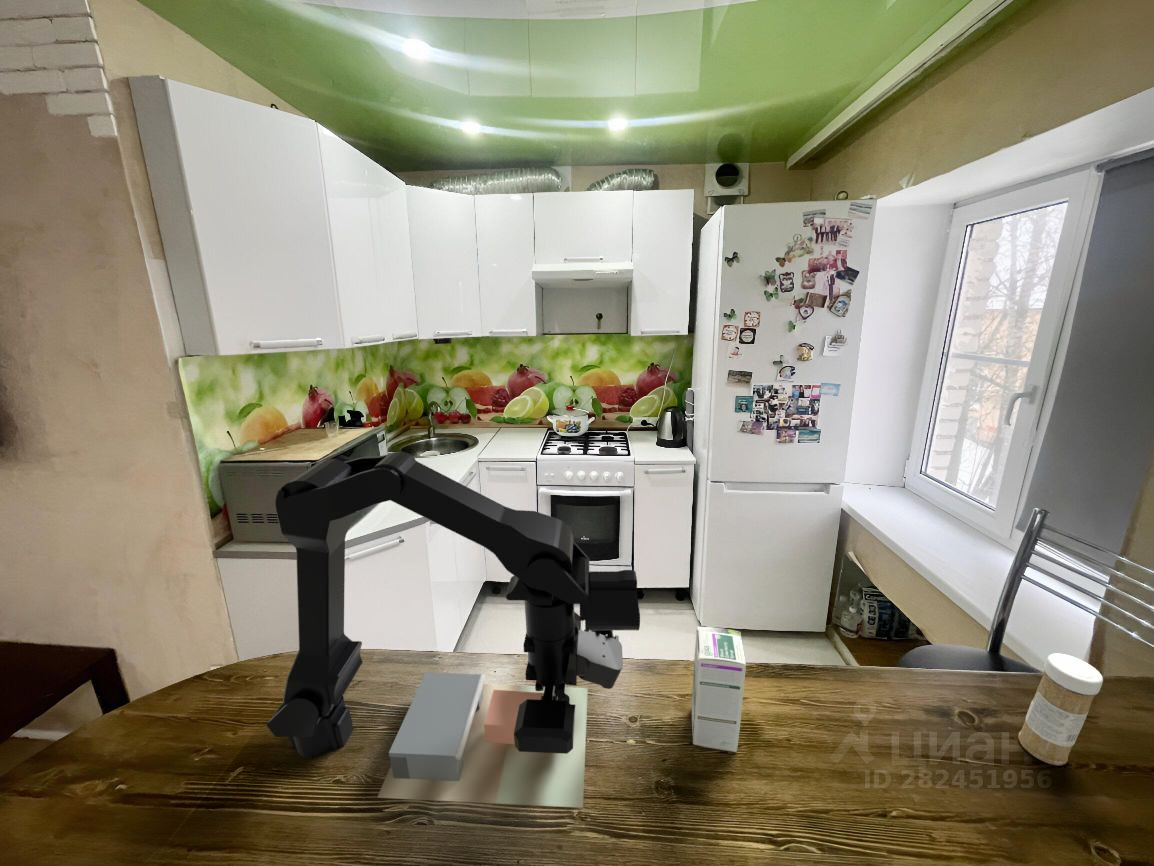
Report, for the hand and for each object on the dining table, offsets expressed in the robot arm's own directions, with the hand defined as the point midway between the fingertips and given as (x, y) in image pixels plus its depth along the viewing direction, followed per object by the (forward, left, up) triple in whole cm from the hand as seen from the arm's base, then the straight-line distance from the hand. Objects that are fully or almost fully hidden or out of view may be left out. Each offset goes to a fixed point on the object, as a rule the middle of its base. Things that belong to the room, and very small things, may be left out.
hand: (554, 722), depth 58 cm
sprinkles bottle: (+62, +2, -4) cm, 62 cm away
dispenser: (-15, 0, -3) cm, 15 cm away
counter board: (-8, 0, -4) cm, 9 cm away
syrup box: (+21, +3, -4) cm, 21 cm away
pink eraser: (-3, 0, -1) cm, 4 cm away
